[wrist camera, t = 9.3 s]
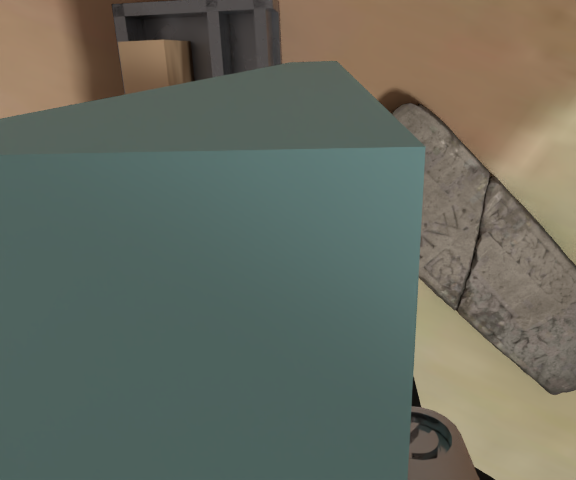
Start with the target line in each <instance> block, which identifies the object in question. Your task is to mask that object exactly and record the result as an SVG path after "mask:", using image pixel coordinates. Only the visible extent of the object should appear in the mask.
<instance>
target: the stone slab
mask: <svg viewBox="0 0 576 480" xmlns="http://www.w3.org/2000/svg"><path fill="white" fill-rule="evenodd" d="M392 115H393V116H394V117H395V118H396V119H397V120H398V121H399V122H400V123H401V124H402V125H404V126H405V127H406V128H407V129H408V130H409V131H410V132H411V133H412V134H413V135H414V136H415V137H416V138H417V139H418V140H419V141H420V142H421V143H422V144H423V145H424V146H425V147H426V148H425V166H424V185H423V203H422V222H421V240H420V258H419V278H420V279H421V280H422V281H423V282H424V283H425V284H426V285H427V286H428V287H429V288H430V289H432V291H433V292H434V293H435V294H436V295H437V296H438V297H440V298H441V299H443V301H444V302H445V303H446V304H448V305H449V306H450V307H452V309H454V310H458V313H459V314H460V315H461V316H462V317H463V318H464V319H465V320H466V321H467V322H469V323H470V324H471V325H472V327H474V328H475V329H476V330H477V331H478V332H480V333H481V334H482V336H483V337H484V338H486V339H487V340H488V341H489V342H491V343H492V344H493V345H494V346H495V347H496V348H497V349H498V350H499V351H501V352H502V353H503V354H504V355H506V356H507V357H508V358H510V359H511V360H512V361H513V362H514V363H516V364H517V365H518V366H519V367H520V368H521V369H522V370H523V371H524V372H525V373H526V374H528V375H529V376H531V377H532V378H533V379H534V380H535V381H536V382H538V383H539V384H540V385H541V386H542V387H543V388H544V389H545V390H546V391H547V392H549V393H550V394H553V395H557V394H560V393H562V392H570V391H574V390H576V266H575V264H574V263H573V262H572V261H571V260H570V259H569V258H568V256H566V255H565V253H564V252H563V251H562V250H561V248H560V247H559V246H558V244H557V243H556V242H555V241H554V240H553V239H552V237H551V236H550V235H549V234H548V233H547V232H546V231H545V230H544V228H543V227H542V226H541V225H540V224H539V223H538V222H537V220H535V219H534V217H533V216H532V215H531V214H530V213H529V212H528V211H527V210H526V208H525V207H524V206H523V205H521V204H520V202H519V201H518V200H516V199H515V197H514V196H512V195H511V194H510V192H509V191H508V190H507V189H506V188H505V187H504V186H503V184H502V183H501V182H500V181H499V180H498V179H497V178H496V177H494V176H493V177H491V178H489V176H490V173H489V171H488V170H487V169H486V168H485V167H484V166H483V165H482V163H481V162H480V161H479V160H478V159H477V158H476V157H475V156H474V155H473V154H472V152H471V151H470V150H469V149H468V148H467V147H466V146H465V145H464V144H463V143H462V142H461V141H460V140H459V139H458V138H457V137H456V135H455V134H454V133H453V132H452V131H451V130H450V129H449V127H448V126H446V124H445V123H444V122H443V121H441V120H440V118H439V117H437V116H436V115H435V114H433V113H432V112H431V111H430V110H429V109H427V108H426V107H424V106H422V105H421V104H419V105H418V106H416V105H414V104H412V103H408V104H403V105H401V106H400V107H399V108H397V109H396V110H395V111H394V112H393V114H392Z"/></svg>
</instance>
